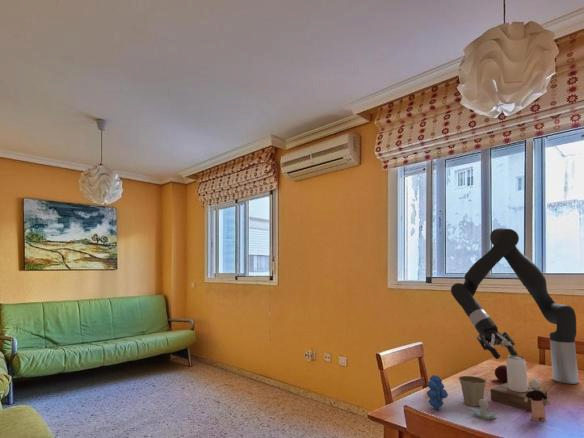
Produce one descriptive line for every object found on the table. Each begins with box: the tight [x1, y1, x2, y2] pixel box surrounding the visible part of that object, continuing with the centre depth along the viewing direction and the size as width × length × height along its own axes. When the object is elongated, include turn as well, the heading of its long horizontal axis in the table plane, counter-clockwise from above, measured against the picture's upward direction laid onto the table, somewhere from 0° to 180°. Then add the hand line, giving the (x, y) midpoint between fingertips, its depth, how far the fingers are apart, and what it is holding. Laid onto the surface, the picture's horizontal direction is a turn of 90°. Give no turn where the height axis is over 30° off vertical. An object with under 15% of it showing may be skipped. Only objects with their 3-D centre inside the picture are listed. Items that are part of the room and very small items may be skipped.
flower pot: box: [458, 375, 488, 407], centre depth 141 cm, size 9×9×9 cm
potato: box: [494, 364, 508, 383], centre depth 169 cm, size 7×8×7 cm
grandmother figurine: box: [524, 378, 551, 422], centre depth 127 cm, size 8×4×13 cm, turn 92°
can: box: [505, 354, 529, 393], centre depth 145 cm, size 6×6×12 cm
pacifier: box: [471, 398, 497, 421], centre depth 129 cm, size 7×6×6 cm
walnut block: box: [490, 382, 548, 412], centre depth 143 cm, size 14×14×4 cm
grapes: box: [426, 374, 449, 411], centre depth 135 cm, size 12×7×12 cm, turn 139°
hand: (507, 357), depth 149 cm, fingers open, 8 cm apart
